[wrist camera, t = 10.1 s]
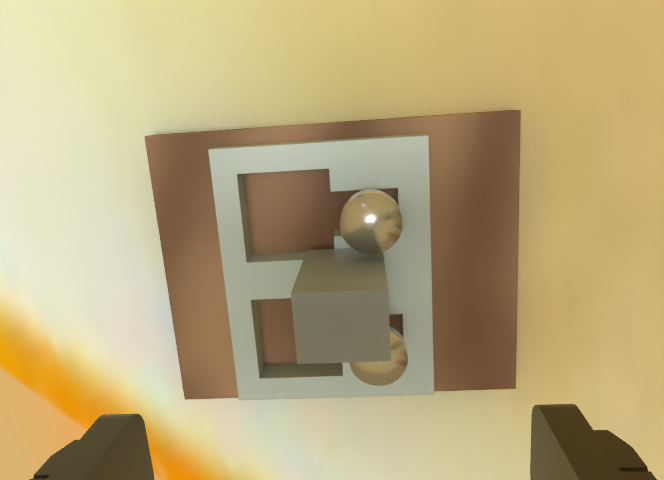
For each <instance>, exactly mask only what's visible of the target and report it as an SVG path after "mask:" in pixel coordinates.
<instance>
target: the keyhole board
mask: <svg viewBox="0 0 664 480" xmlns="http://www.w3.org/2000/svg"><path fill="white" fill-rule="evenodd" d="M411 134H427V135H428V138H429V183H430V228H431V273H432V318H433V363H434V391H457V390H488V389H516V341H517V283H518V226H519V168H520V110H507V111H493V112H478V113H464V114H449V115H435V116H420V117H406V118H391V119H377V120H363V121H348V122H334V123H319V124H305V125H290V126H276V127H261V128H247V129H232V130H218V131H203V132H189V133H174V134H160V135H150V136H145V143H146V149H147V156H148V162H149V169H150V175H151V182H152V188H153V195H154V201H155V208H156V214H157V221H158V227H159V234H160V240H161V247H162V253H163V260H164V266H165V273H166V279H167V286H168V292H169V299H170V305H171V312H172V318H173V325H174V331H175V338H176V344H177V351H178V357H179V364H180V370H181V377H182V383H183V390H184V396H185V399H211V398H239V395H238V387H237V379H236V371H235V363H234V355H233V347H232V339H231V331H230V323H229V314H228V306H227V298H226V290H225V282H224V274H223V266H222V258H221V250H220V241H219V233H218V225H217V217H216V209H215V201H214V193H213V185H212V177H211V168H210V160H209V152H208V150H209V149H212V148H215V147H225V146H241V145H256V144H272V143H287V142H303V141H318V140H334V139H349V138H365V137H380V136H395V135H411ZM244 181H245V190H246V200H247V209H248V218H249V227H250V237H251V246H252V254H272V253H292V252H307V250H320V249H334V233H335V230H336V229H340V217H341V212H342V209H343V207H344V205H345V203H346V202H347V200H348V199H349V198H350V197H351V196H353V195H354V194H356V193H357V192H360V191H363V190H350V191H333V192H331V190H330V176H329V168H328V169H311V170H295V171H278V172H262V173H245V174H244ZM375 190H380V191H383V192H385V193H387V194H388V195H390V196H391V197H392V198H393V199H394V200H395V201H396V203H397V192H396V188H385V189H375ZM257 301H258V310H259V320H260V329H261V338H262V347H263V357H264V365H287V364H297V356H296V346H295V335H294V324H293V313H292V302H291V298H281V299H258V300H257ZM389 322H390V326H391V327H393V328H394V329H396V330H397V331H398V332H399V333H400V334H401V335H402V325H401V314H390V315H389Z"/></svg>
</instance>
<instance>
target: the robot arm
mask: <svg viewBox="0 0 664 480" xmlns="http://www.w3.org/2000/svg"><path fill="white" fill-rule="evenodd" d="M530 476H531V480H657V479H656V478H655V477H654V475H653V474H652V473H651V472H648V469H647V466H646V465H645V463H644V462H643V461H642V460H641V458H640V457H639V456H638V454H637V453H636V452H635V450H634V449H633V448H632V447H631V446H630V445H628V444H627V443H626V442H624V441H623V440H621V439H620V438H618V437H617V436H616V435H614V434H613V433H611V432H610V431H608V430H593V429H592V428H591V426H590V425H589V423H588V422H587V420H586V419H585V417H584V416H583V414H582V413H581V411H580V410H579V409H578V407H577V406H576V405H575V404H555V405H535V406H534V407H533V410H532V426H531V466H530ZM30 480H154V473H153V468H152V462H151V457H150V451H149V446H148V440H147V434H146V429H145V424H144V420H143V418H142V417H141V415H139V414H110V415H102V416H100V417H99V418H98V419H97V420H96V421H95V422H94V424H93V425H92V426H91V427H90V428H89V429H88V431H87V432H86V433H85V434H84V435H83V437H82V438H81V439H80V440H74V441H73V442H71V443H70V444H68V445H67V446H65V447H64V448H62V449H61V450H59V451H58V452H56V453H55V454H53V455H52V456H51V457H50V458H49V459H48V460H47V461H46V462H45V463H44V464H43V466H42V467H41V468H40V469H39V470H38V471H37V472H36V473H35V474H34V478H33V479H30Z"/></svg>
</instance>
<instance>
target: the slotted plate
mask: <svg viewBox="0 0 664 480" xmlns="http://www.w3.org/2000/svg"><path fill="white" fill-rule="evenodd" d="M208 152H209V160H210V168H211V177H212V185H213V193H214V201H215V209H216V217H217V225H218V233H219V241H220V250H221V258H222V266H223V274H224V282H225V290H226V298H227V306H228V314H229V323H230V331H231V339H232V347H233V355H234V363H235V371H236V379H237V387H238V395H239V400H261V399H294V398H327V397H360V396H393V395H426V394H434V363H433V318H432V273H431V228H430V183H429V138H428V135H427V134H411V135H395V136H380V137H365V138H349V139H334V140H318V141H303V142H287V143H272V144H256V145H241V146H225V147H215V148H212V149H209V150H208ZM328 168H329V176H330V190H331V192H333V191H350V190H368V189H385V188H396V192H397V204H398V206H399V209H400V212H401V215H402V219H403V228H402V232H401V235H400V237H399V239H398V241H397V242H396V243H395V244H394V245H393V246H392V247H391V248H390V249H388V250H386V251H384V252H382V253H378V254H364V253H361V252H358V251H356V250H354V249H353V248H351V247H350V246H349V245H348V244H347V243H346V241H345V240H344V238H343V236H342V234H341V230H340V229H336V230H335V233H334V249H320V250H307V252H292V253H272V254H252V246H251V237H250V227H249V218H248V209H247V200H246V190H245V181H244V174H245V173H262V172H278V171H295V170H311V169H328ZM281 298H291V302H292V313H293V324H294V335H295V346H296V356H297V364H287V365H264V357H263V347H262V338H261V329H260V320H259V310H258V301H257V300H258V299H281ZM390 314H401V325H402V337H403V339H404V341H405V344H406V349H407V355H408V364H407V367H406V370H405V372H404V373H403V375H402V376H401V377H400V378H399V379H398V380H396V381H395V382H393V383H391V384H388V385H384V386H373V385H369V384H366V383H364V382H362V381H361V380H359V379H358V378H357V377H356V376H355V375H354V373H353V372H352V370H351V368H350V364H349V362H376V361H391V345H390V322H389V315H390Z"/></svg>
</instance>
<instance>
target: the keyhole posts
mask: <svg viewBox="0 0 664 480" xmlns="http://www.w3.org/2000/svg"><path fill="white" fill-rule="evenodd" d="M402 228H403V219H402V215H401V212H400V209H399V206H398V204H397V203H396V201H395V200H394V199H393V198H392V197H391V196H390V195H388V194H387V193H385V192H383V191H380V190H375V189H368V190H363V191H360V192H357V193H356V194H354V195H353V196H351V197H350V198H349V199H348V200H347V202H346V203H345V205H344V207H343V209H342V212H341V217H340V230H341V234H342V236H343V238H344V240H345V241H346V243H347V244H348V245H349V246H350V247H351V248H353V249H354V250H356V251H358V252H361V253H364V254H378V253H382V252H384V251H386V250H388V249H390V248H391V247H392V246H393V245H394V244H395V243H396V242H397V241H398V239H399V237H400V235H401V232H402ZM390 345H391V361H376V362H349V364H350V368H351V370H352V372H353V373H354V375H355V376H356V377H357V378H358V379H359V380H361V381H362V382H364V383H366V384H369V385H373V386H384V385H388V384H391V383H393V382H395V381H396V380H398V379H399V378H400V377H401V376H402V375H403V373H404V372H405V370H406V367H407V364H408V355H407V349H406V344H405V341H404V339H403V337H402V335H401V334H400V333H399V332H398V331H397V330H396V329H394V328H393V327H391V326H390Z"/></svg>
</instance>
